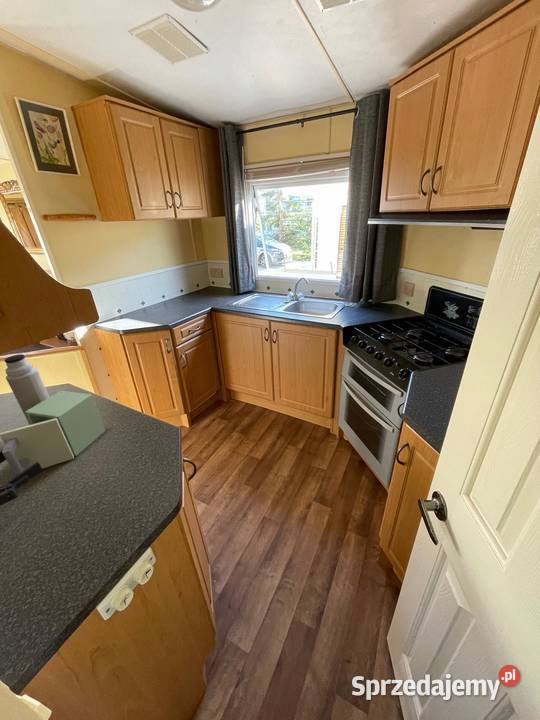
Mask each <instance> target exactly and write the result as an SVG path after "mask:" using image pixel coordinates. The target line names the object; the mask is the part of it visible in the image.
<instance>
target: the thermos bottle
mask: <svg viewBox="0 0 540 720" xmlns="http://www.w3.org/2000/svg"><path fill="white" fill-rule="evenodd" d="M4 363H5V365H6V367H7V368H6V369H5V374H6V376H5V380H6V381H7V384H8V386H9V387H10V389H11V391H12V393H13V395H14V397H15V399H16V401H17V403H18V405H19V407H20V409H21V411H22V413H23V415H24V417H25V419H26V421H27V423H28V426H29V425H31V423H30V421H29V419H28V417H27V415H26V413H25V411H27V410H29V409H31V408H32V407H34V406H36V405H37V404H39V403H41V402H42V401H44V400H46V399H47V398H49V397H50V395H49V392H48V391H47V388H46V386H45V384H44V382H43V380H42V377H41V375H40V373H39V370H38V369H37V368H36V367H33V366H34V364H32V363H31V362H29V361H27V359H26V356H25V355H24V354H23V353H22V354H21V353H20V354H19V353H18V354H15V355H11V356H7V357H6V358H4Z"/></svg>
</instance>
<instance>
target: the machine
mask: <svg viewBox="0 0 540 720" xmlns="http://www.w3.org/2000/svg"><path fill="white" fill-rule="evenodd" d="M25 413H26V415H27V417H28V419H29V421H30V423H31V425H32V424H36V423H40V422H44V421H47V420H51V419H55V418H57V420H58V422H59V424H60V427H61V429H62V431H63V433H64V435H65V438H66V440H67V442H68V444H69V446H70V449H71V451H72V453H73V455H74V457H77V456H78V455H79V454H80V453H82V452H83V451H84V450H85V449H87V447H89V446H90V445H91V444H92V443H93V442H95V441H96V440H97V439H98V438H99V437H101V435H103V434H104V433H105V432H106V429H105V425H104V423H103V420H102V417H101V415H100V413H99V410H98V406H97V405H96V402H95V399H94V397H93V394H92V393H91V394H90V393H83V392H76V391H75V392H74V391H68V390H67V391H66V390H59V391H58V392H56V393H54V394H52V395H50V396H49V398H47V399H46V400H44V401H42V402H41V403H39V404H37V405H36V406H34V407H32V408H31V409H29V410H27V411H25Z"/></svg>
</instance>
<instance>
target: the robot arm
mask: <svg viewBox="0 0 540 720" xmlns="http://www.w3.org/2000/svg"><path fill="white" fill-rule="evenodd" d="M2 451H3V449H2V450H0V464H2V463H3V462H5V461H7V460H6V458H5V456H4V455H3V453H2ZM43 471H44V469H43V468H41V466H40V464H39V462H36V463H35V464H33V465H32V466H30V467H29V468H27V469H26V470H24V471H23V472H21V473H20V474H18V475H17V476H16V475H15V476H14V477H12V478H11V479H9V480H8V483H7V484H4V485H1V486H0V506H2V505H4V504H7V503H9V502H11V501H13V500H16V499H17V498H18V492H17V491H18V490H19V489H20V488H21V487H23V486H24V485H26V484H28V482H30V481H31V480H32V479H33V478H35V477H36V476H38V475H39V474H40V473H42V472H43Z"/></svg>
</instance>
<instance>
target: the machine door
mask: <svg viewBox="0 0 540 720" xmlns="http://www.w3.org/2000/svg"><path fill="white" fill-rule="evenodd" d="M0 439H1V441H2V442H3V444H4V446H3V448H2V450H3V451H2V450H1V451H2V453H3V455H4V456H5V458H6V460H5V461H6V462H7V463H8V465H9V467H10V468H11V470H12V471H13V473H14V475H15V476H17V475H18V474H20V473H21V472H23V471H24V470H26V469H27V468H29V467H30V466H32V465H33V464H35V463H36V462H39V464H40V466H41V468H42V469H45V468H49V467H51V466H54V465H58V464H61V463H64V462H67V461H70V460H73V459H74V458H75V456H74V455H73V453H72V451H71V449H70V446H69V444H68V442H67V440H66V438H65V435H64V433H63V431H62V429H61V427H60V424H59V422H58V420H57V418H55V419H51V420H47V421H44V422H40V423H36V424H32V425H29V424H28V425H24V426H21V427H17V428H14V429H9V430H6V431H3V432H0Z"/></svg>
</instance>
